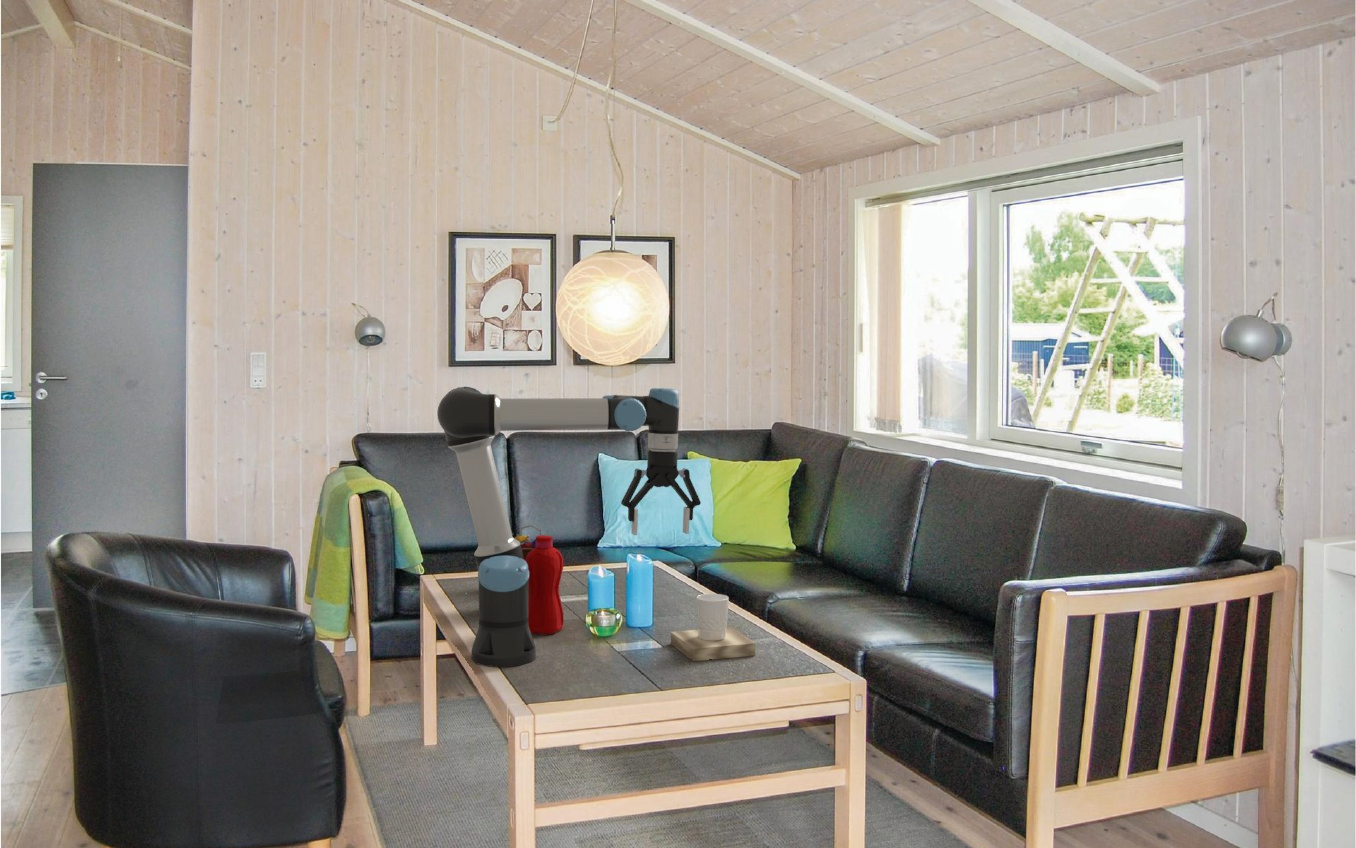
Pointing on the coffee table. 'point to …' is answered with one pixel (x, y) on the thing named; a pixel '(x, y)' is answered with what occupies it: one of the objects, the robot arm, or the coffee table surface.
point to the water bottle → (544, 587)
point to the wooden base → (712, 645)
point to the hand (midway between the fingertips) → (660, 533)
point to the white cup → (712, 616)
